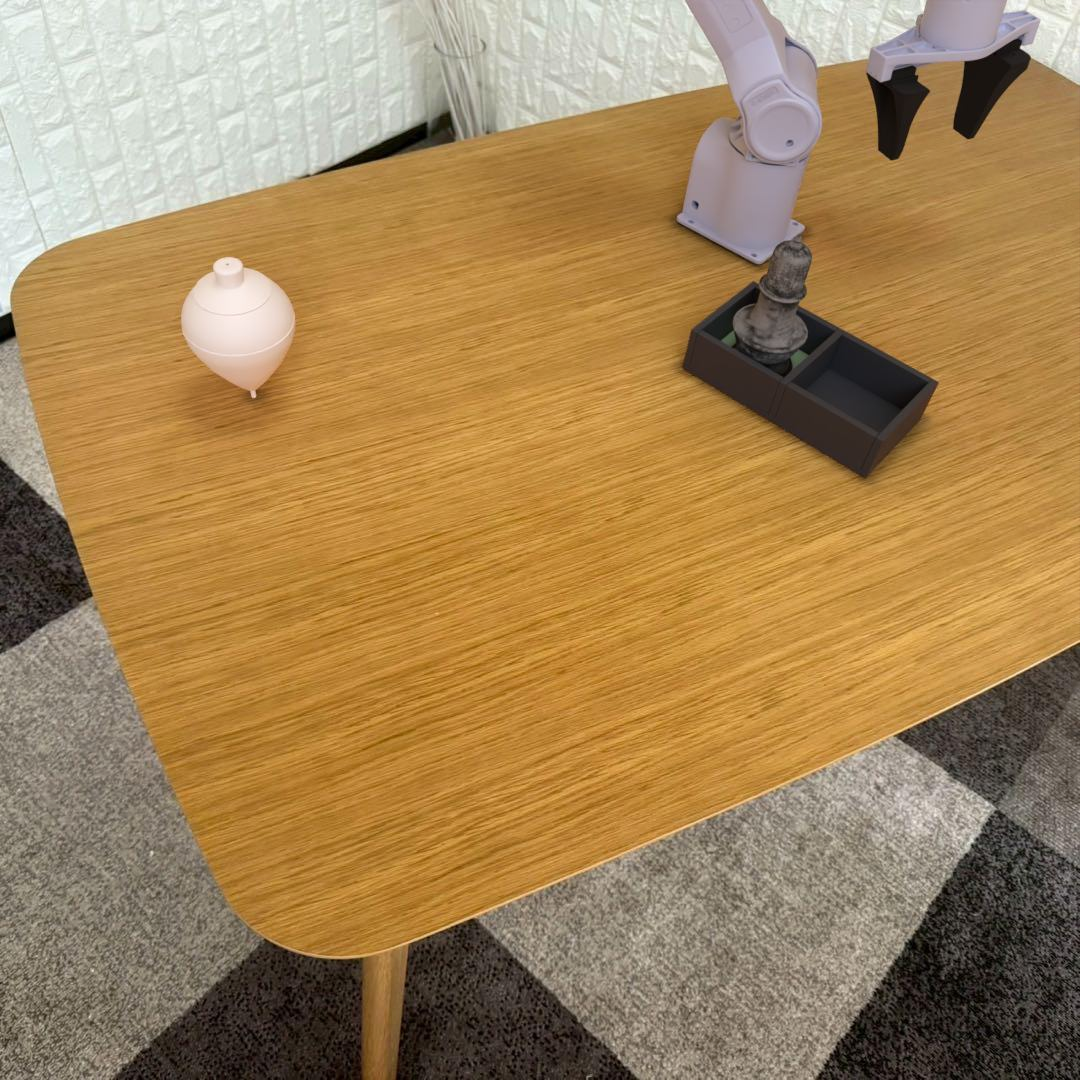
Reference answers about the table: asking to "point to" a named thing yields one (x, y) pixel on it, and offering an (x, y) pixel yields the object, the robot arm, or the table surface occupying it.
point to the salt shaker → (776, 310)
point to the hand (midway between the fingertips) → (926, 143)
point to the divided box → (816, 386)
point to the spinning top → (238, 323)
